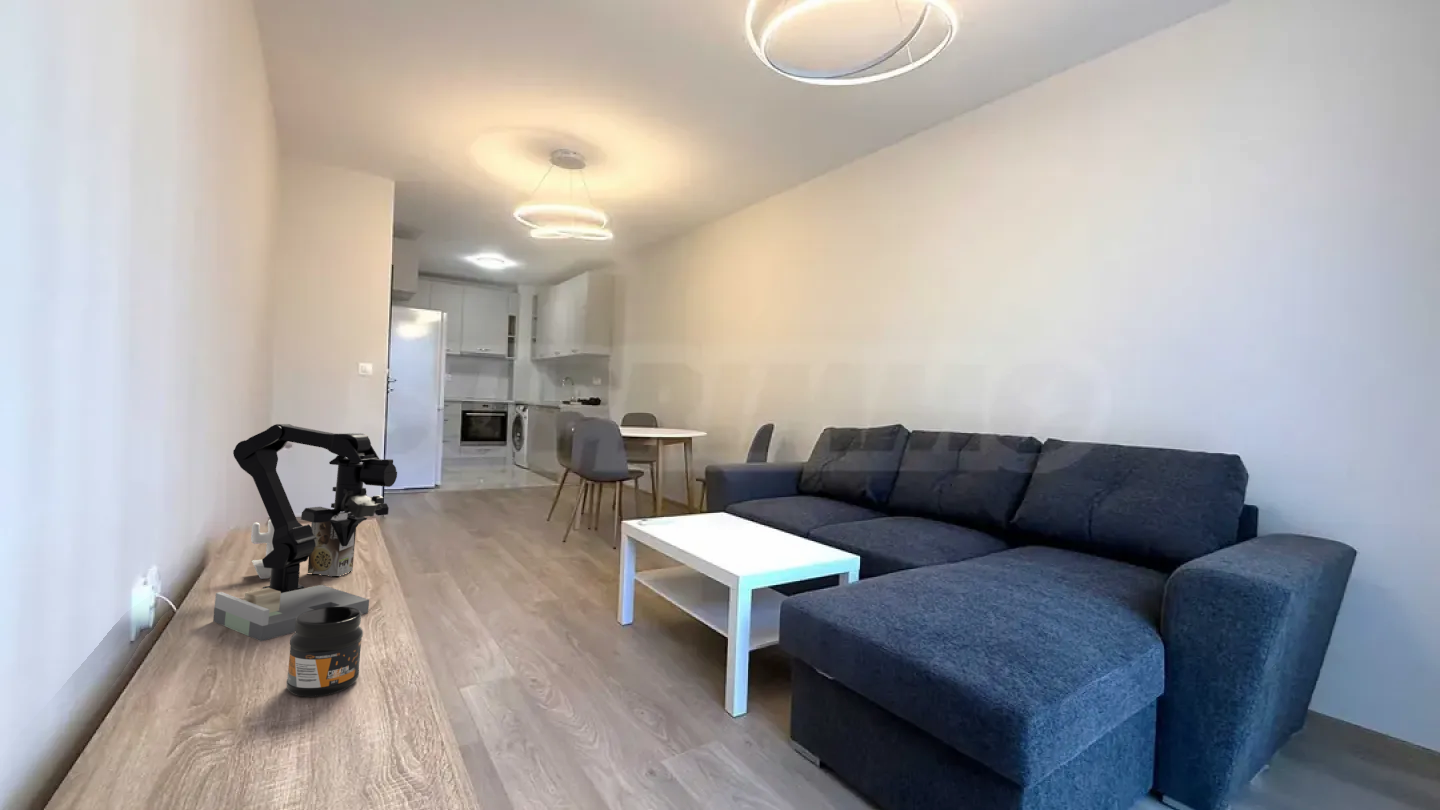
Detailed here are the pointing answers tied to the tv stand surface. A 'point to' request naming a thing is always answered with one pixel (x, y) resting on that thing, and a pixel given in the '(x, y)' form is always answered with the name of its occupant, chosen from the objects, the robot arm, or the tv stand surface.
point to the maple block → (264, 598)
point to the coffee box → (330, 552)
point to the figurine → (266, 538)
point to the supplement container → (324, 651)
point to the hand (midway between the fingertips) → (344, 546)
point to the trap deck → (280, 610)
